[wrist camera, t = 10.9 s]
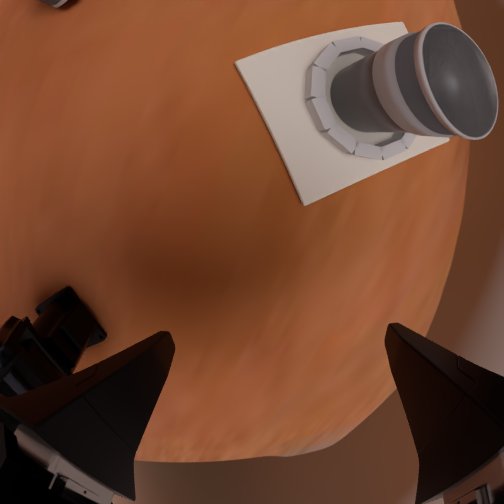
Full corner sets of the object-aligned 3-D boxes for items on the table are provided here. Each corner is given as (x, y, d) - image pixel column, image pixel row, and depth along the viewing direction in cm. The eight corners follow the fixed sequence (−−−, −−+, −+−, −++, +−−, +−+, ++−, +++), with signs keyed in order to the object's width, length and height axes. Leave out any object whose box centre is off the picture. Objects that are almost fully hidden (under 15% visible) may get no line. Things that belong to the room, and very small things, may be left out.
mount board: (302, 204, 21) (312, 212, 19) (234, 64, 17) (236, 53, 14) (444, 140, 20) (463, 142, 18) (397, 24, 16) (414, 15, 13)
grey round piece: (332, 134, 19) (429, 135, 9) (323, 61, 16) (405, 6, 6) (397, 135, 19) (502, 145, 9) (388, 68, 17) (486, 41, 7)
